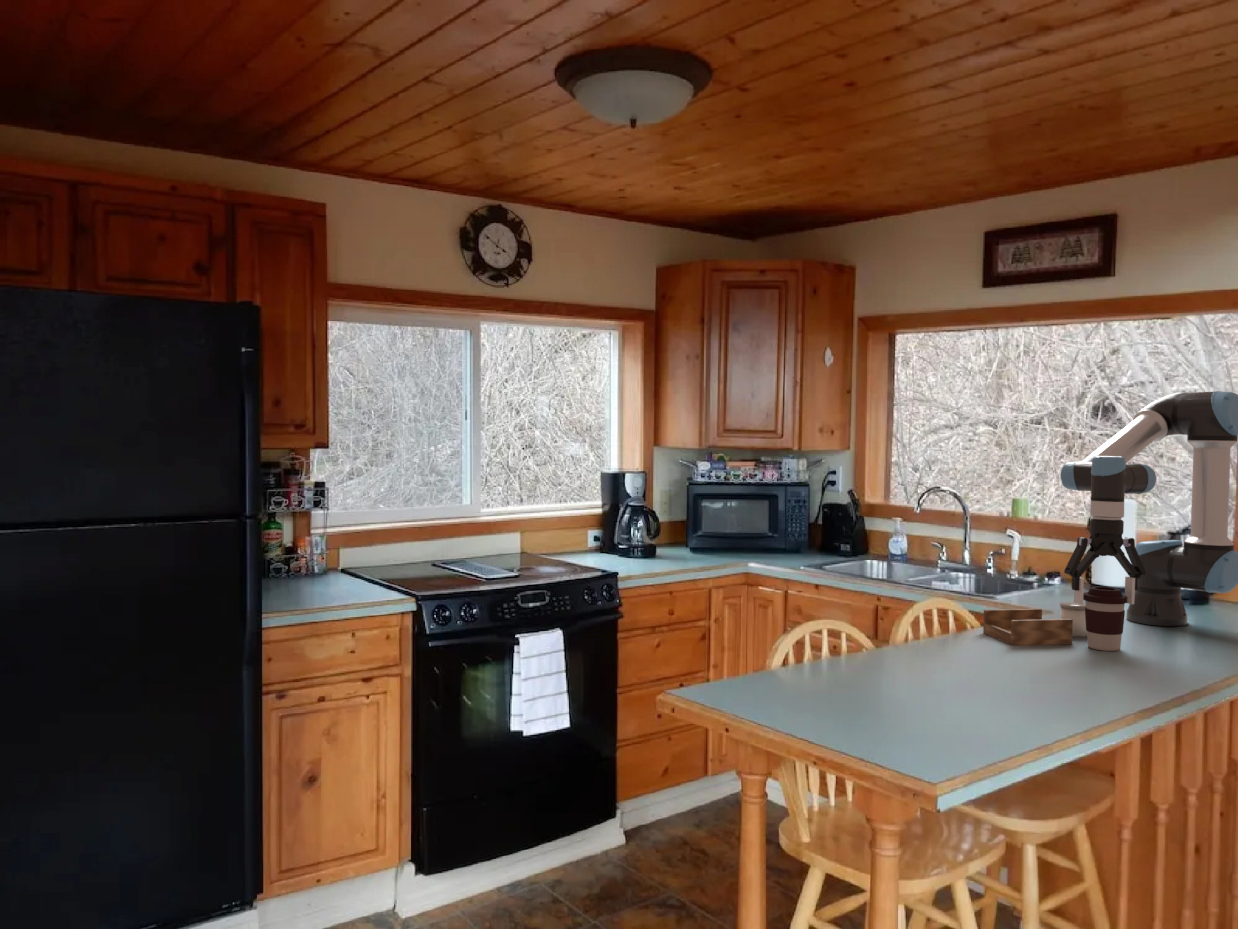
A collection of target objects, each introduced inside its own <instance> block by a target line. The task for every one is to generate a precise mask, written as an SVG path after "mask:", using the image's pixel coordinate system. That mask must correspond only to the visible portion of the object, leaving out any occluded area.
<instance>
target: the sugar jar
mask: <svg viewBox="0 0 1238 929" xmlns="http://www.w3.org/2000/svg"><path fill="white" fill-rule="evenodd" d="M1085 607H1086V603H1084V602H1083V604H1077V603H1074V601H1071V602H1070V601H1065V602H1060V603H1059V608H1060V619H1072V620H1073V628H1072V637H1078V636H1083V637H1087V630H1086V620H1085Z"/></svg>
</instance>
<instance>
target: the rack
mask: <svg viewBox="0 0 1238 929" xmlns="http://www.w3.org/2000/svg"><path fill="white" fill-rule="evenodd" d="M982 624H983V625H982V626H983V627H982V628H983V629H982V631H983V634H986V635H988V636H990V637H992V638H995V639H997V638H998V639H997V640H999V639H1000V640H999V641H1001V640H1002V642H1004V643H1006V644H1009V645H1011V644H1012V645H1011V646H1035V645H1036V646H1037V645H1039V646H1040V645H1042V646H1043V645H1072V644H1073V636H1072V628H1073V620H1072V619H1061V618H1049V619H1047V618H1045V619H1043V609H1042V608H1018V609H1017V608H1013V609H1012V608H1011V609H1009V608H1008V609H1006V608H1005V609H983V623H982Z"/></svg>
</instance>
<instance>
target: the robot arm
mask: <svg viewBox="0 0 1238 929" xmlns="http://www.w3.org/2000/svg"><path fill="white" fill-rule="evenodd" d="M1174 435H1185V436H1186V435H1187V438H1186V440H1187V443H1188V444H1189V445H1190V446H1192V448H1193V450H1192V451H1193V452H1192V453H1193V455H1192V480H1191V482H1192V484H1191V511H1190V512H1191V514H1190V515H1191V517H1190V535H1189V536H1188V537H1187V538H1185V539H1184V540H1183V541H1182V540H1180V539H1179V540H1178V539H1170V540H1169V539H1166V540H1165V539H1164V540H1163V539H1161V540H1147V541H1139V542H1138V543H1137V544H1136V543H1135V542H1136V539H1135V538H1133V537H1127V536H1126V537H1125V536H1124V538H1123V535H1124V527H1125V526H1124V524H1125V521H1124V520H1123V518H1124V517H1125V494H1127V495H1131V494H1134V495H1141V494H1146V493H1148V492H1150V491H1152V490H1153V488H1155V486H1156V483H1157V475H1156V471H1155V470H1154V469H1153V468H1152V467H1151V466H1149V465H1147V464H1143V463H1129V461H1131V460H1132V459H1133V458H1134V457H1135V456H1137V455H1138V454H1139V453H1141V452H1142V451H1143V450H1144V449H1145V448H1147V447H1148V446H1149V445H1150V444H1152V443H1153V442H1159V441H1161V440H1163V439H1165V437H1168V436H1174ZM1237 443H1238V393H1236V392H1232V391H1220V390H1217V391H1198V392H1197V391H1195V392H1194V391H1193V392H1177V393H1176V392H1175V393H1172V394H1168V395H1165V396H1163V397H1161V398H1159V399H1157V400H1154V401H1152V402H1150V403H1149V404H1148V405H1146V406H1144V407H1143V408H1142V409H1140V410H1139V411H1138V412H1136V414H1135V415H1134V416H1133V419H1132V421H1131V422H1129V423H1128V424H1127V425H1126V426H1125V427H1123V428H1122V429H1121V430H1120V431H1119V432H1117V433H1116V434H1114V435H1113V436H1112V437H1110V438H1109V439H1108V440H1107V441H1106V442H1104V443H1103V444H1101V445H1100V446H1099V447H1098V448H1097V449H1095V450H1094V451H1093V452H1092V453H1090V454H1088V456H1086V457H1085V458H1084V459H1083V460H1081V461H1076V460H1075V461H1070V462H1069V461H1068V462H1066V463H1065V464H1064V465H1063V466H1062V467H1061V470H1060V481H1061V484H1062V486H1063V487H1064V488H1065V489H1067V490H1071V491H1072V490H1073V491H1078V492H1081V491H1082V492H1090V507H1089V508H1090V511H1089V512H1090V513H1089V514H1090V515H1089V516H1091V517H1092V518H1090V519H1089V534H1090V537H1089V538H1087V537H1083V536H1079V537H1077V541H1076V547H1075V548H1074V550H1073V553H1072V554H1071V556H1070V558H1069V560H1068V562H1067V564H1066V566H1065V568H1064V570H1063V572H1064V574H1065V575H1069V576H1070V577H1071V590H1073V602H1074V603H1077V604H1083V603H1084V600H1083V593H1085V592H1084V588H1085V585H1084V584H1085V577H1082V576H1083V575H1084V573H1085V572H1087V569H1088V568H1089V567H1090V566H1091V565H1092V564H1093V562H1095V560H1096V559H1097V558H1099V557H1100V556H1101V557H1106V556H1110V557H1114V558H1115V559H1116V560H1117V562H1118V563H1119V565H1121V567H1122V568H1123V570H1124V571H1125V572H1126V574H1127V575H1128V576H1124V577H1125V580H1124V595H1126V596H1127V597H1128V599H1127V603H1126V604H1128V608H1127V609H1126V620H1128V621H1130V622H1133V623H1138V624H1143V625H1150V626H1151V625H1152V626H1161V627H1181V626H1182V627H1183V626H1186V625H1187V624H1188V614H1187V611H1186V608H1185V605H1184V603H1183V599H1182V595H1181V594H1182V592H1181V591H1182V589H1187V590H1192V591H1193V590H1194V591H1200V592H1207V593H1209V594H1212V593H1215V594H1227V593H1229V592H1231V591H1233V590H1234V589H1235V588H1236V587H1237V585H1238V551H1236V550H1235V543H1234V542H1233V541H1232V540H1231V539H1230V538H1229V537H1228V536H1229V534H1228V533H1229V532H1228V531H1229V528H1228V527H1229V502H1230V501H1229V499H1230V475H1231V473H1230V471H1231V470H1230V469H1231V449H1232V447H1233V446H1234V445H1236V444H1237ZM1089 546H1090V547H1089ZM1122 546H1123V547H1124V550H1125V552H1126V555H1127V557H1128V558H1127V557H1126V555H1125V552H1124V551H1123V550H1122V548H1121V547H1122ZM1088 547H1089V549H1088V550H1087V548H1088ZM1086 550H1087V551H1086ZM1085 553H1086V554H1085Z"/></svg>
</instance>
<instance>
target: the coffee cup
mask: <svg viewBox="0 0 1238 929" xmlns="http://www.w3.org/2000/svg"><path fill="white" fill-rule="evenodd" d="M1127 599H1128V597H1127V596H1126V595H1125V594H1123V593H1122V591H1121V589H1120V588H1117V587H1113V586H1112V587H1111V586H1091V587H1089V589H1088V591H1085V592H1084V593H1083V601H1085V604H1086V607H1085V620H1086V630H1087V636H1086V637H1087V646H1088V647H1089V648H1090V649H1093V650H1097V651H1102V652H1116V651H1119V650H1120V649H1121V643H1122V635H1123V632H1124V623H1125V615H1126V614H1125V613H1126V610H1125V606H1126V605H1125V604H1128V603H1127Z"/></svg>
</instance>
